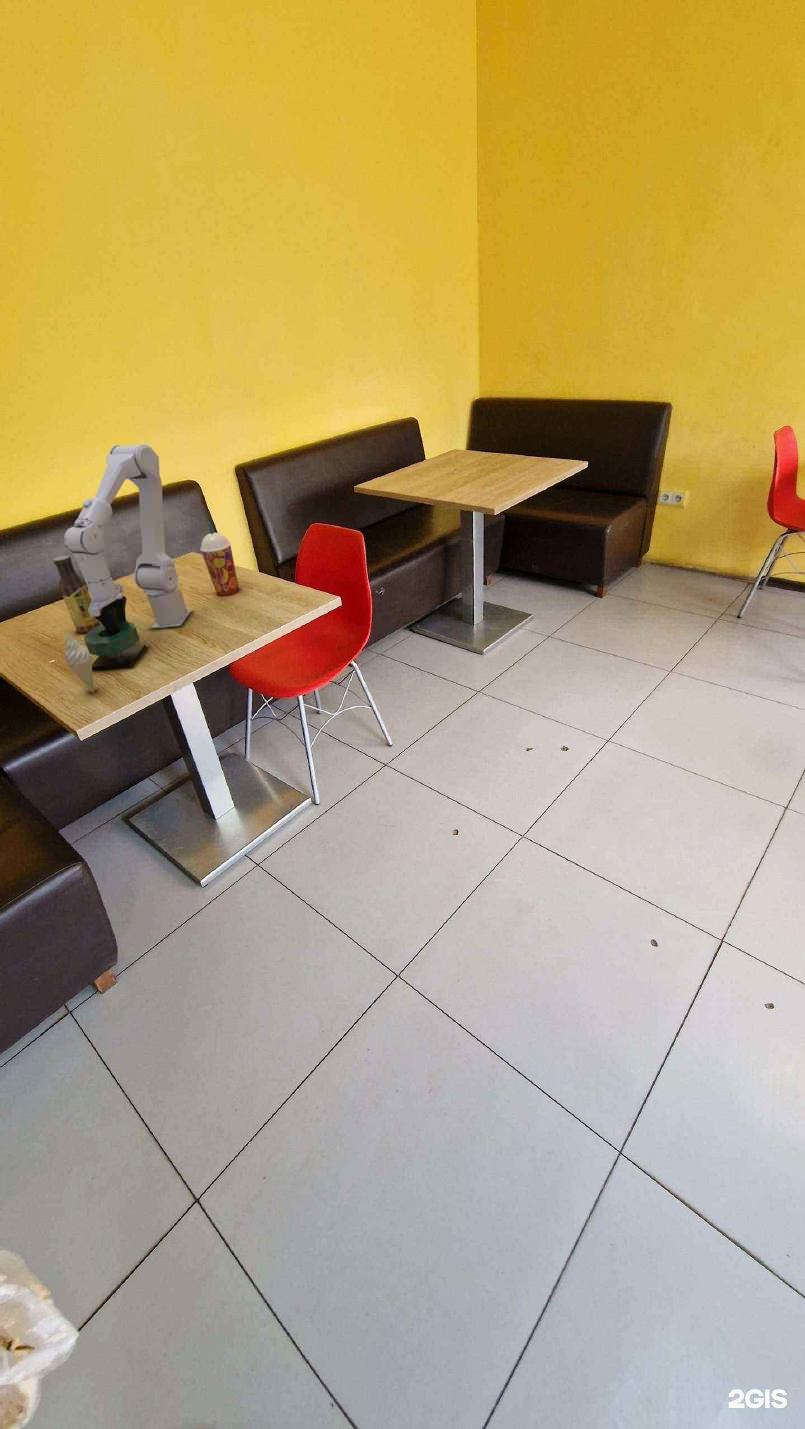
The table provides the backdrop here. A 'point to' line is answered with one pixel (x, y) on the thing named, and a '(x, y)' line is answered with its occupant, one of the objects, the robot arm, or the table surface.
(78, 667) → the ice cream cone
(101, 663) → the peg stand
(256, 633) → the table surface
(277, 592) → the table surface
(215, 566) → the smoothie
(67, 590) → the sauce bottle
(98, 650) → the ring
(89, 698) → the table surface
